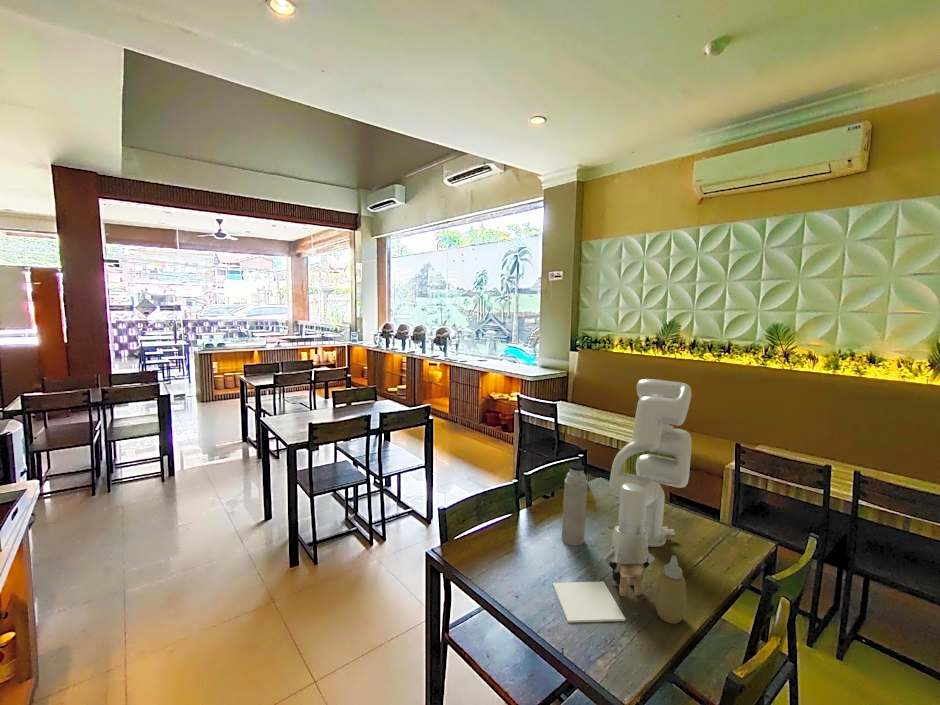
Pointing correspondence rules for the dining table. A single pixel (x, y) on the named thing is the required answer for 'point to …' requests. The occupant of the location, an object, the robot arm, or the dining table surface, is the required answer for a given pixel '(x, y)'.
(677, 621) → the squeeze bottle
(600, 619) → the mat
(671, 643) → the dining table surface
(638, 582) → the stool
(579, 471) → the thermos bottle
